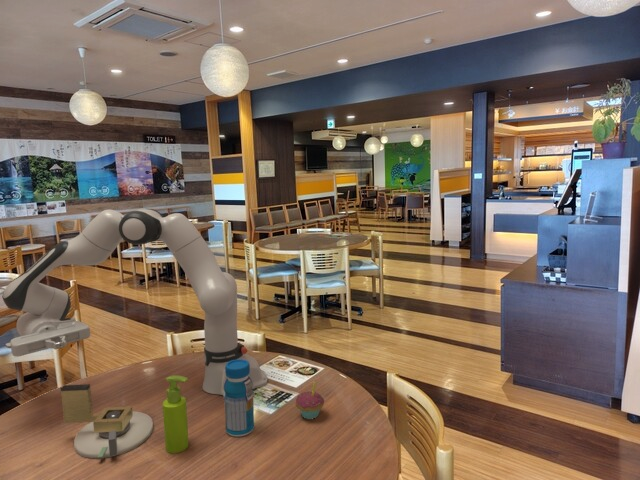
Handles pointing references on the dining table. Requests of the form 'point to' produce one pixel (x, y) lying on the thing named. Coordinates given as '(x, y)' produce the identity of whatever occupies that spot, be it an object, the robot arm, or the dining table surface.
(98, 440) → the plate
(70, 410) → the tan piece
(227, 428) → the beverage bottle
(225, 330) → the robot arm
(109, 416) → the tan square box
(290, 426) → the dining table surface
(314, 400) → the cupcake
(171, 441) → the soap dispenser
